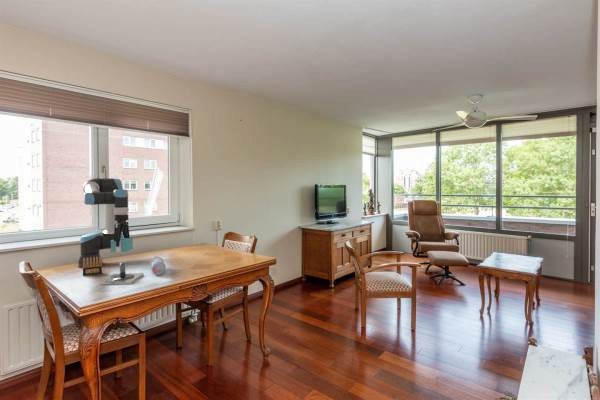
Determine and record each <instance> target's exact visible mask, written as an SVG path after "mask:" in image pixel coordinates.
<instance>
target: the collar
mask: <svg viewBox="0 0 600 400" xmlns="http://www.w3.org/2000/svg"><path fill="white" fill-rule="evenodd" d="M133 238H134V237H130V238H124V237H123V238H121V239H120V241H121V252H120V253H122V252H123V253H127V252H130V251H131V250H133V249H134V248H133V247H134V246H133V244H134V242H133ZM110 253H117V252H116V241H114V240H111V249H110Z"/></svg>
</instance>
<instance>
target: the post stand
mask: <svg viewBox="0 0 600 400" xmlns="http://www.w3.org/2000/svg"><path fill="white" fill-rule="evenodd" d="M143 276H144V272H136V273H135V272H134V273H133V272H132V273H131V272H130V273H127V272H126V262H120V263H119V273H114V274H112V275H110V276H108V277H107V278H104V279H103V280H101V281H100V282H99V285H100V286H106V285H108V286H109V285H112V286H113V285H132V284H134V283H135V282H136V281H137V280H139V279H141V278H142V277H143Z"/></svg>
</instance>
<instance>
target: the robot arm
mask: <svg viewBox="0 0 600 400" xmlns="http://www.w3.org/2000/svg"><path fill="white" fill-rule="evenodd" d="M82 190H83V193H84V195H83V203H84V204H85V205H89V206H92V205H95V206H96V205H104V230H103V231H102V233H99V232H90V233H86V234H83V235H81V236H80V238H79V239H80V241H79V243H80V257H79V259H78V262H77V267H78V268H83V259H84V258H85V262H86V260H87V257H88V259H89V263H90V257H91V258H92V267H93V257H95V263H96V257H98V262H99V257H100V256H101V254H100V252H101V251H104V250H111V240H114V241H116V252H115V253H122V252H121V241H120V239H121V238H131V237H130V236H131V235H130V227H129V191H128V189H124V188H123V183H122V180H121V179H119V178H100V177H99V178H97V177H96V178H92V179H88V180H87V181H85V182H84V184H83V185H82ZM101 261H102V265H103V263H104V262H103V259H102V257H101Z"/></svg>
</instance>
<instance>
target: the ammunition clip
mask: <svg viewBox="0 0 600 400" xmlns="http://www.w3.org/2000/svg"><path fill="white" fill-rule="evenodd" d="M101 258H102V256H101V255H100V257H99V262H98V257H96V263H95V257H93V267H92V258H91V257H90V263H89V259H88V257H87V260H86V262H85V258H84V259H83V267H82V276H83V277H86V276H93V275H102V274H103V264H102V261H103V260H102V261H101Z"/></svg>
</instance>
